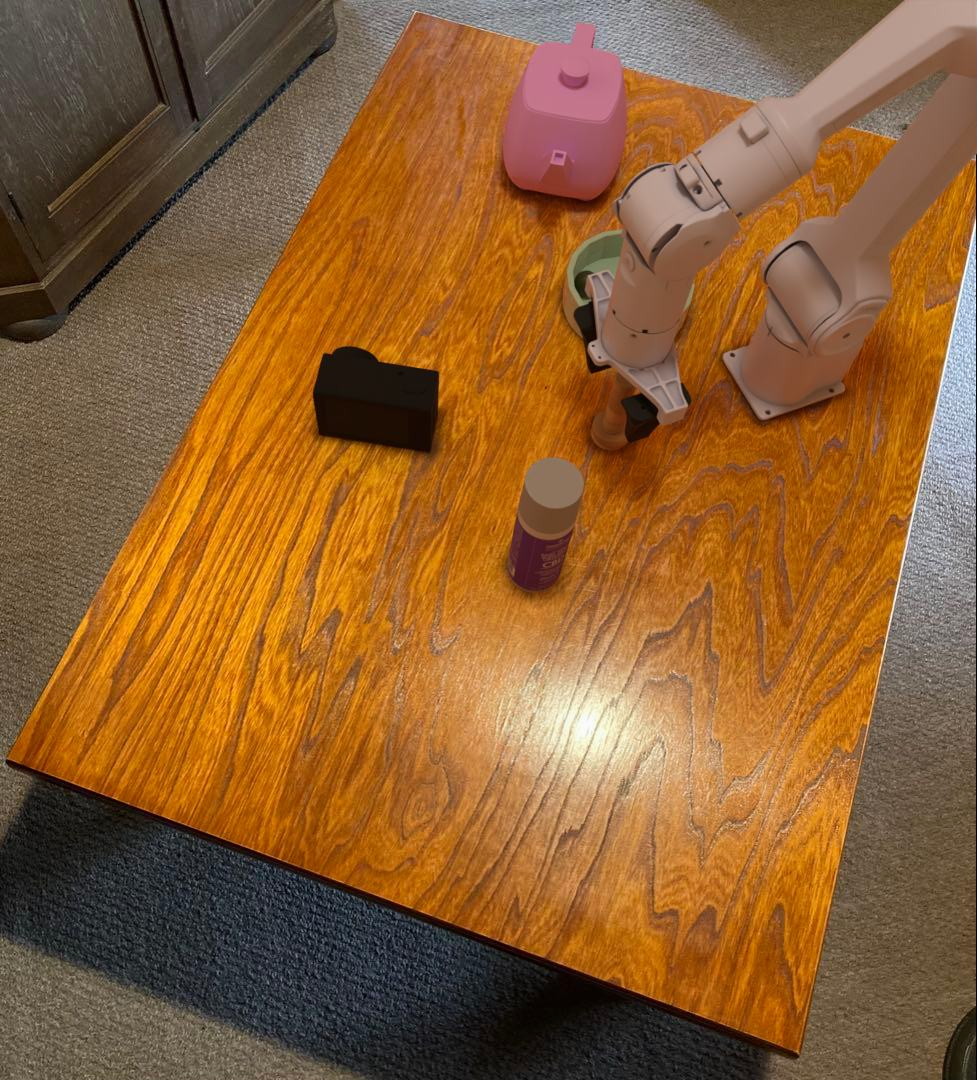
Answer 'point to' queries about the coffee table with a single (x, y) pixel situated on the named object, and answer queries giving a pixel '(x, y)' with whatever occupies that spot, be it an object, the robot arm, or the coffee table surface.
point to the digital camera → (375, 400)
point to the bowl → (596, 258)
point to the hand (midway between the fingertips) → (618, 401)
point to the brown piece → (613, 417)
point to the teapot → (567, 119)
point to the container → (544, 523)
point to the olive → (581, 281)
